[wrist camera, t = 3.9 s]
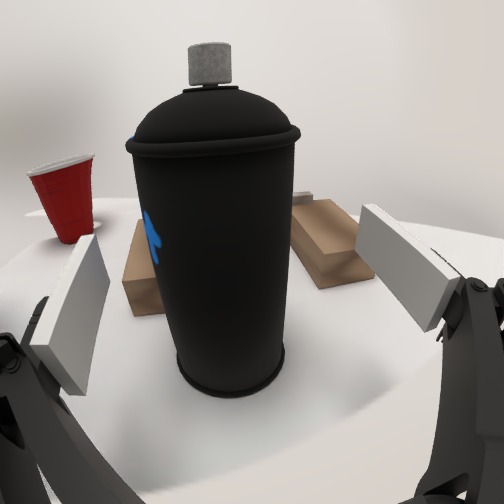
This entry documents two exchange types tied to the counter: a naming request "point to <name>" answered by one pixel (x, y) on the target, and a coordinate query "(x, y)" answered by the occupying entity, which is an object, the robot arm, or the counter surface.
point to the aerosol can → (219, 224)
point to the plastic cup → (66, 195)
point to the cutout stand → (302, 241)
